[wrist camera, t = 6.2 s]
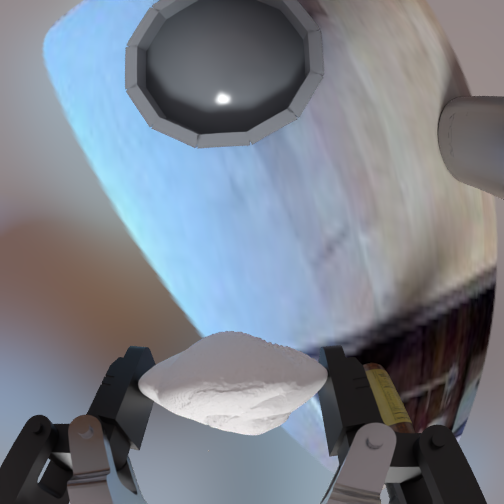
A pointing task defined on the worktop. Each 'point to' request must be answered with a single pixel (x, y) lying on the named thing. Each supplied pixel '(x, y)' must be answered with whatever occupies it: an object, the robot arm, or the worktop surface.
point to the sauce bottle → (388, 408)
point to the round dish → (223, 68)
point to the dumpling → (235, 382)
